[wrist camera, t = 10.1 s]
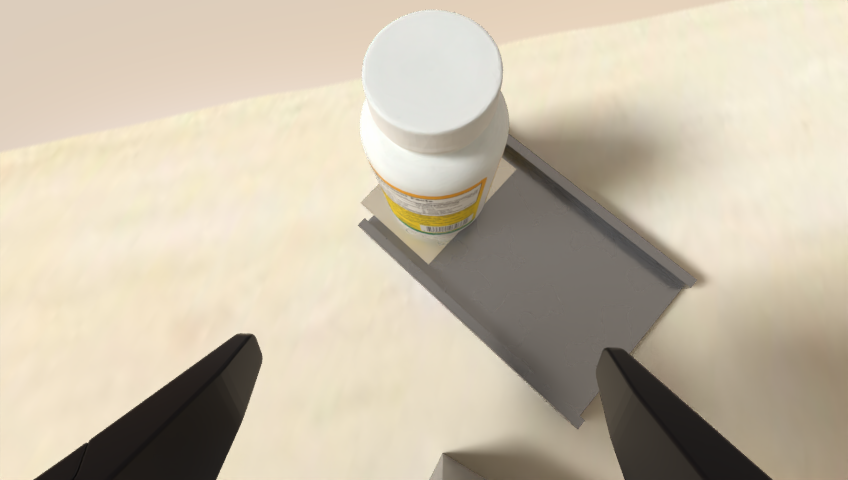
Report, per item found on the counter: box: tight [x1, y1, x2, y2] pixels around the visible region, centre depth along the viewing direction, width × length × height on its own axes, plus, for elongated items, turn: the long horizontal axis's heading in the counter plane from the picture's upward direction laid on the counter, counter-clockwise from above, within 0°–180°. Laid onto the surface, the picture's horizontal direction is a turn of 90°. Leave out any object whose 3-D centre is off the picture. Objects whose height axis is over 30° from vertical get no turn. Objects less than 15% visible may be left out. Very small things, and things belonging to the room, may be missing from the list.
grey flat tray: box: [358, 134, 697, 429], centre depth 18 cm, size 15×9×1 cm, turn 47°
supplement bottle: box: [360, 10, 509, 236], centre depth 15 cm, size 5×5×10 cm
